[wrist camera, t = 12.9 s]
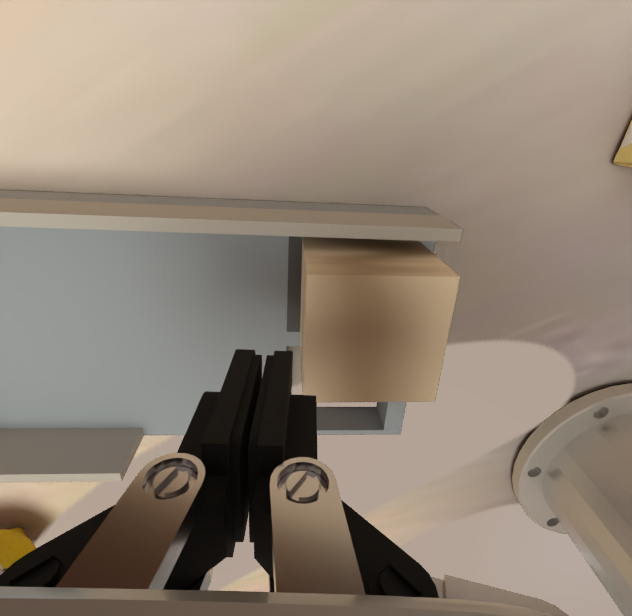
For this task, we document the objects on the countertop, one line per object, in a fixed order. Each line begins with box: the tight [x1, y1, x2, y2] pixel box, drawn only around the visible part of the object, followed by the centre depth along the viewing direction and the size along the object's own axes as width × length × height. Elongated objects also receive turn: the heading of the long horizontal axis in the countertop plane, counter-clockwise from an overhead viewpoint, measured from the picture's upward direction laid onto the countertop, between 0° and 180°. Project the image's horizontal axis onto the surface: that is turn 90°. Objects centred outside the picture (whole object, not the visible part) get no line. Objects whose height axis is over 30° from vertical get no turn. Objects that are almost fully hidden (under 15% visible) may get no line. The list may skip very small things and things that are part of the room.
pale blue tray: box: [0, 190, 463, 483], centre depth 18 cm, size 22×12×5 cm, turn 87°
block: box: [300, 237, 460, 402], centre depth 16 cm, size 5×5×5 cm
